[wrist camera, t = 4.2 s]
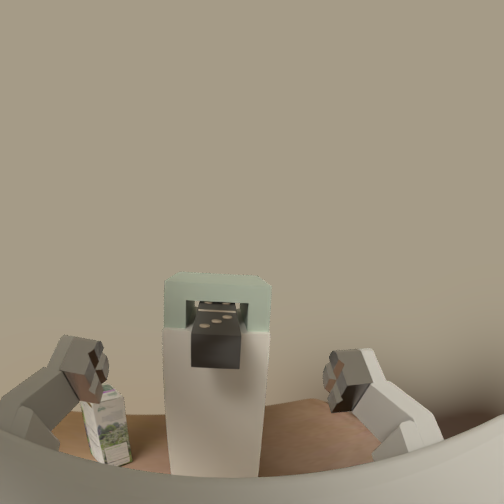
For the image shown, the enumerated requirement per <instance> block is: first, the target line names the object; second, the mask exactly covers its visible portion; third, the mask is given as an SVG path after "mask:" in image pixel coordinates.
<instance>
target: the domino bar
mask: <svg viewBox="0 0 504 504" xmlns="http://www.w3.org/2000/svg"><path fill="white" fill-rule="evenodd" d="M240 353H241V331H240V326H239V321H238V316H237V311H236V306H235V303H231V302H210V301H200V302H199V306H198V309H197V313H196V317H195V320H194V324H193V328H192V331H191V367H198V368H218V369H240Z"/></svg>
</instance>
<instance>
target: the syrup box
mask: <svg viewBox="0 0 504 504" xmlns="http://www.w3.org/2000/svg"><path fill="white" fill-rule="evenodd" d="M101 385H102V387H103V389H104V391H103V394H102V398H101V401H100V404H95V403H89V402H84V401H80V404H81V409H82V415H83V420H84V425H85V429H86V434H87V438H88V443H89V447H90V451H91V454H92V455H93V456H94V457H95V459H96V460H97V461H98V462H100V463H104V464H109V465H113V466H118V467H119V466H122V465H124V464H127V463H130V462H132V455H131V449H130V443H129V436H128V429H127V422H126V413H125V404H124V397H123V396H122V395H121V394H120V393H119V392H118V391H117V390H116V389H115V388H114V387H112V386H111V385H110V384H109V383H102V384H101Z"/></svg>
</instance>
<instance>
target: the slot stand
mask: <svg viewBox="0 0 504 504" xmlns="http://www.w3.org/2000/svg"><path fill="white" fill-rule="evenodd" d="M271 293H272V286H271V285H269V284H268V283H267V282H265V281H264V280H263V279H261V278H260V277H259V276H251V275H231V274H230V275H229V274H211V273H193V272H178V273H177V274H175V275H173V276H172V277H170V278H168V279H167V280H165V282H164V328H163V329H162V341H163V343H162V345H163V380H164V399H165V415H166V428H167V440H168V450H169V460H170V469H171V475H182V476H195V477H217V478H252V477H258V473H259V463H260V453H261V442H262V432H263V421H264V409H265V398H266V385H267V373H268V360H269V347H270V346H269V345H270V333H269V324H270V309H271ZM195 301H210V302H231V303H240V309H236V311H237V316H238V321H239V326H240V331H241V353H240V369H218V368H198V367H191V331H192V328H193V324H194V320H195V317H196V313H197V309H198V307H195Z"/></svg>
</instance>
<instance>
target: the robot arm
mask: <svg viewBox="0 0 504 504" xmlns="http://www.w3.org/2000/svg"><path fill="white" fill-rule="evenodd" d="M103 348H104V347H103V345H102V342H101V341H96V340H90V339H85V338H79V337H74V336H68V335H63V336H62V337H61V338H60V340H59V342H58V344H57V347H56V349H55V351H54V353H53V355H52V357H51V359H50V361H49V364H48V366H47V368H46V367H43V368H42V369H40V370H39V371H37V372H36V373H34V374H33V375H32V376H30V377H29V378H28V379H26V380H25V381H23V382H22V383H21V384H19V385H18V386H17V387H15V388H14V389H12V390H11V391H10V392H9V393H7V394H6V395H4V396H3V397H2V398H1V401H0V504H504V414H503V415H500V416H498V417H496V418H494V419H492V420H490V421H488V422H486V423H483V424H481V425H479V426H477V427H475V428H472V429H470V430H468V431H466V432H463V433H461V434H458V435H456V436H454V437H451V438H449V439H446V440H444V439H443V437H442V434H441V432H440V429H439V427H438V425H437V422H436V420H435V418H434V415H433V414H432V413H431V412H430V411H429V410H427V409H426V408H425V407H423V406H422V405H421V404H419V403H418V402H417V401H415V400H414V399H412V398H411V397H410V396H409V395H407V394H406V393H405V392H404V391H402V390H401V389H400V388H398V387H397V386H396V385H394V384H393V383H392V382H390V381H386V379H385V377H384V374H383V372H382V370H381V368H380V365H379V363H378V361H377V359H376V356H375V354H374V352H373V350H372V349H371V348H366V349H350V350H336V351H332V352H331V354H330V356H329V359H330V362H329V363H328V364H327V365H326V366H325V368H324V371H323V384H324V388H325V389H326V390H327V391H328V392H329V393H330V395H329V396H328V403H329V407H330V410H331V413H337V412H347V411H352V413H353V414H354V415H355V416H356V417H357V418H358V419H359V420H360V421H361V422H362V423H363V424H364V425H365V426H366V427H367V428H368V429H369V430H370V431H371V432H372V434H373V435H374V436H375V437H376V438H377V439H378V440H379V441H380V442H381V444H380V445H379V446H378V447H377V448H376V449H375V450H374V451H373V452H372V457H373V460H374V462H370V463H365V464H361V465H356V466H351V467H346V468H340V469H334V470H328V471H322V472H314V473H306V474H297V475H287V476H273V477H252V478H217V477H195V476H182V475H171V474H162V473H155V472H147V471H141V470H135V469H129V468H123V467H118V466H113V465H109V464H104V463H100V462H95V461H91V460H87V459H84V458H80V457H76V456H73V455H69V454H66V453H63V452H59V451H58V450H59V446H60V442H59V440H58V439H57V438H56V437H55V436H54V435H53V433H52V432H51V431H52V430H53V428H54V427H55V426H56V425H57V424H58V423H59V422H60V421H61V420H62V419H63V418H64V417H65V416H66V415H67V414H68V413H69V412H70V411H71V410H72V409H73V408H74V407H75V406H76V405H77V404H78V403H79V401H84V402H89V403H95V404H100V401H101V398H102V394H103V391H104V389H103V387H102V385H101V384H102V383H104V382H105V381H106V380H107V377H108V372H109V363H108V359H107V356H106V355H105V354H103V352H102V351H103Z"/></svg>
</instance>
